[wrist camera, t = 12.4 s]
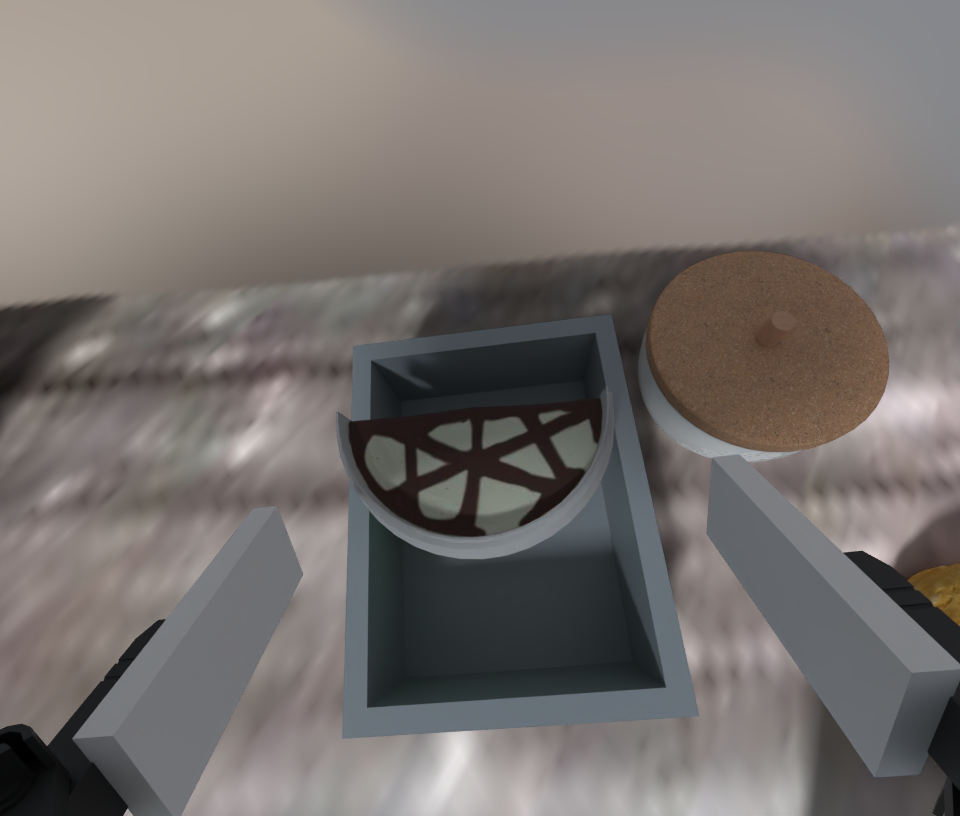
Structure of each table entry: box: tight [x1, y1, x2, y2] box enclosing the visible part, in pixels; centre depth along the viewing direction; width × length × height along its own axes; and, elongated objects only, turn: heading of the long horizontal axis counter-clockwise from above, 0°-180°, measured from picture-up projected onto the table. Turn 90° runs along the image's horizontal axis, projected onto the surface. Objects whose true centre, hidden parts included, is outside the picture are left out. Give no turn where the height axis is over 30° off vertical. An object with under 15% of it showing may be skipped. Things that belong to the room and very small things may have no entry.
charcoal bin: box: [342, 314, 699, 739], centre depth 24 cm, size 14×18×7 cm
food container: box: [336, 386, 615, 559], centre depth 22 cm, size 12×6×10 cm, turn 94°
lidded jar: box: [638, 251, 889, 462], centre depth 24 cm, size 11×11×9 cm
